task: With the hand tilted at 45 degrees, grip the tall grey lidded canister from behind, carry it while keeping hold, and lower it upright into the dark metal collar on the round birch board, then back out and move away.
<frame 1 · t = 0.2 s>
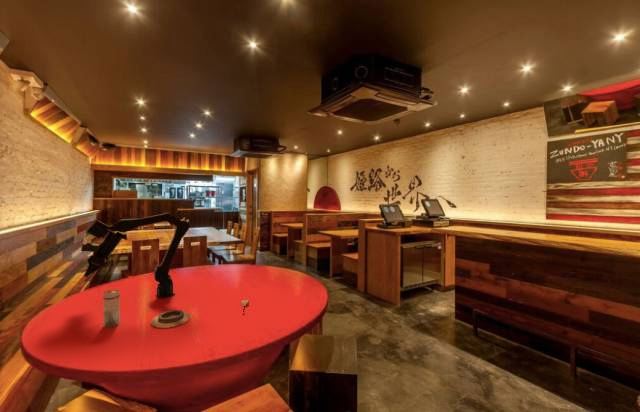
hand: (86, 274, 129), 15 cm above the table, tool tilted 35°, fingers open, 9 cm apart
fork: (243, 309, 131), on the table
collar board: (171, 320, 117), on the table
grey lidded canister: (111, 324, 112), on the table
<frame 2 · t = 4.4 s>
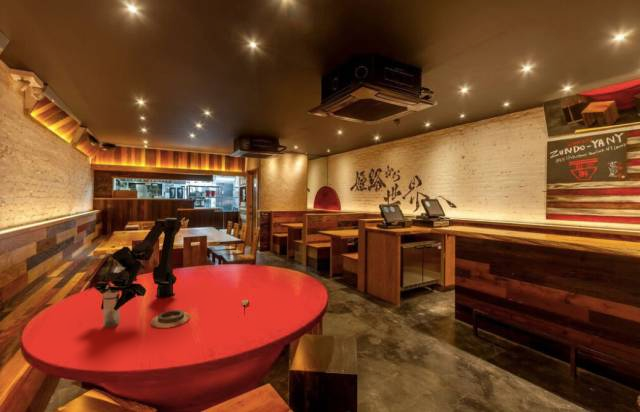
hand: (108, 309, 111), 7 cm above the table, tool tilted 45°, fingers closed on grey lidded canister, 5 cm apart
grey lidded canister: (111, 324, 112), on the table, touching gripper
everything else where it was.
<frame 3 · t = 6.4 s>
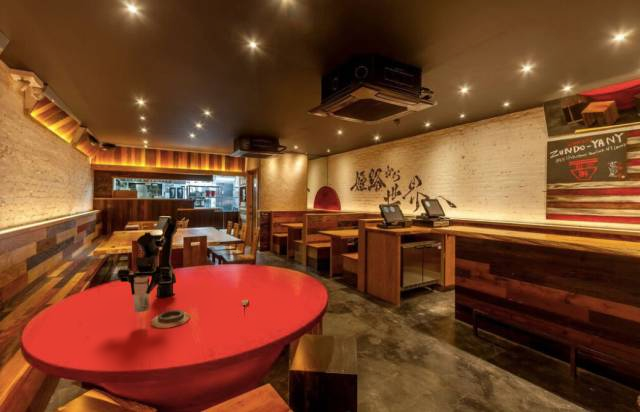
hand: (140, 294, 112), 12 cm above the table, tool tilted 45°, fingers closed on grey lidded canister, 5 cm apart
grey lidded canister: (141, 309, 113), point 6 cm above the table, touching gripper
everything else where it was.
when the fingers open (9 cm above the table, at t = 8.4 s): grey lidded canister drops 1 cm, resting on collar board.
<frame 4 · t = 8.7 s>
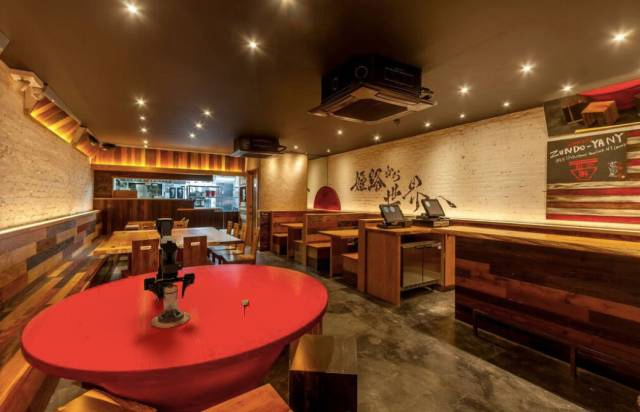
hand: (171, 299, 116), 9 cm above the table, tool tilted 45°, fingers open, 8 cm apart
grey lidded canister: (171, 318, 117), point 1 cm above the table, touching collar board
everything else where it was.
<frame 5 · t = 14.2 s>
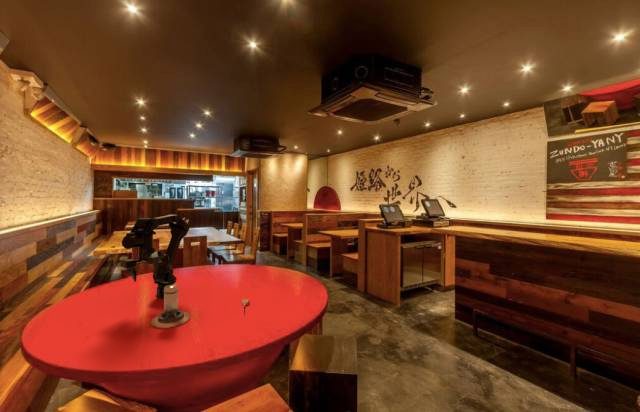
hand: (145, 279, 133), 12 cm above the table, tool pointing down, fingers open, 9 cm apart
nothing on the table moved.
at the end: grey lidded canister 0.0 cm off-centre on the collar board, point 0.8 cm above the collar board's base; grey lidded canister tilted 0°; the gripper is holding nothing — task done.
